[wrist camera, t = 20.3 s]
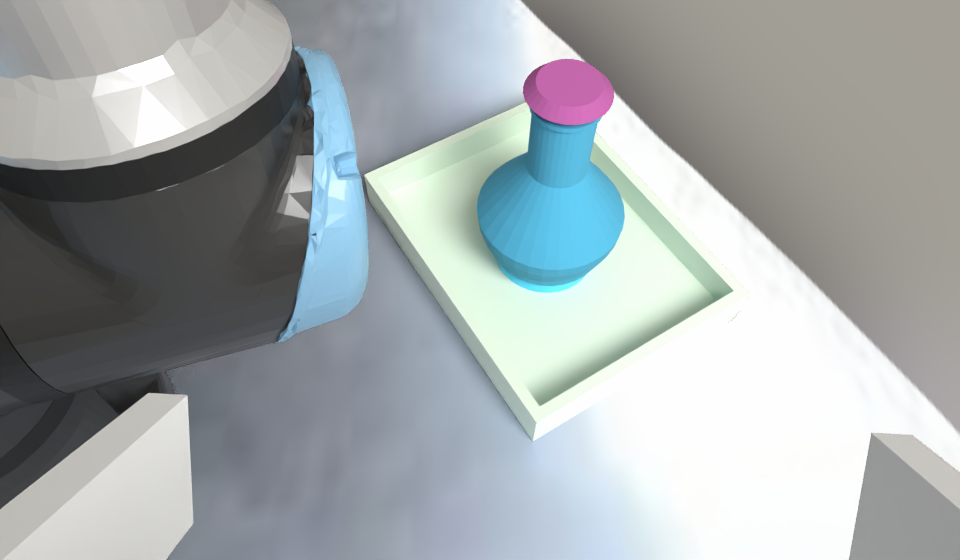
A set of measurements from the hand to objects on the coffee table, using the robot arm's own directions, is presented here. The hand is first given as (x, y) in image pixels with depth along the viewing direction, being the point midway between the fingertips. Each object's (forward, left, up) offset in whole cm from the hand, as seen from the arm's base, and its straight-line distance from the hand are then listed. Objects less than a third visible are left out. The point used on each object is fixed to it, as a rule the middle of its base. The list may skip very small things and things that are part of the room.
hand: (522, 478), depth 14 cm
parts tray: (-12, +21, -28) cm, 37 cm away
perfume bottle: (-12, +21, -27) cm, 36 cm away
